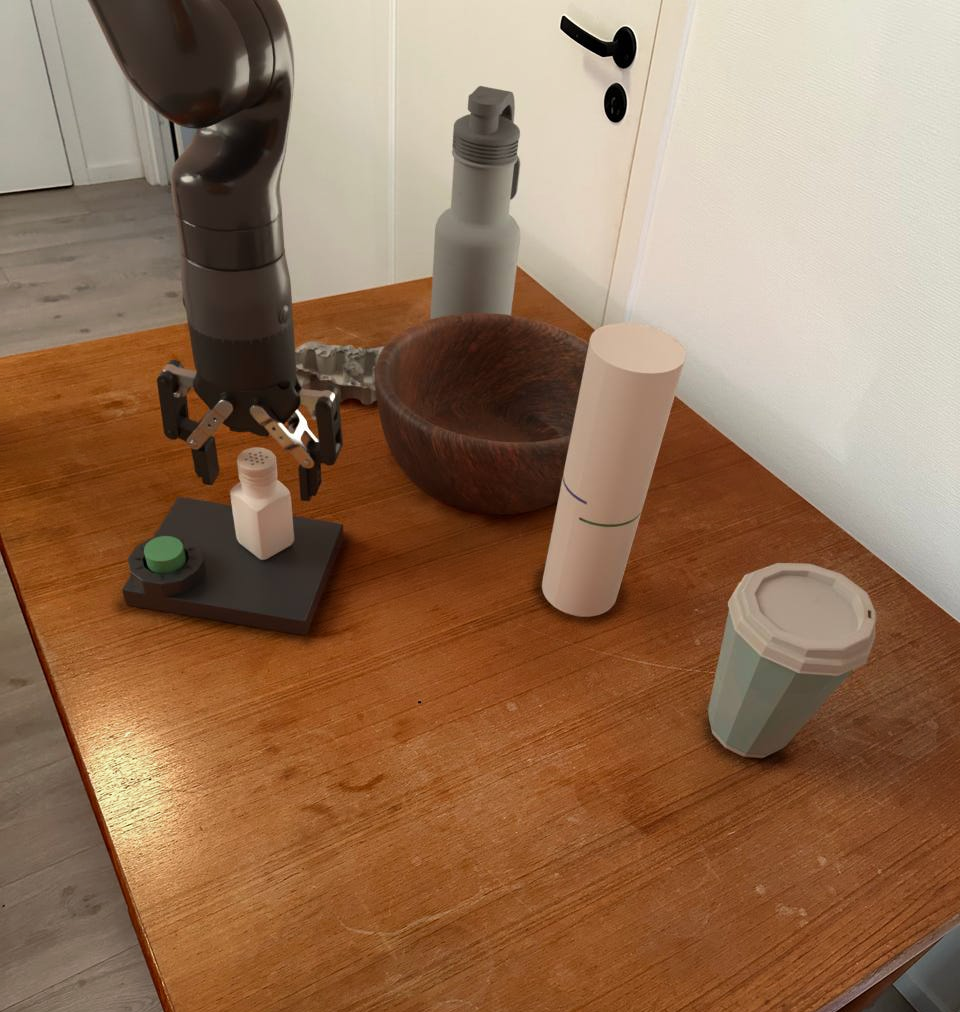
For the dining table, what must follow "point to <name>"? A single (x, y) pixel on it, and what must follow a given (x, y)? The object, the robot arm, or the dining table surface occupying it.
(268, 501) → the pepper shaker
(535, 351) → the wooden bowl
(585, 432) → the cylindrical container
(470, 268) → the water bottle
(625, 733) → the dining table surface
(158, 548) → the button
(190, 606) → the dark grey flat block
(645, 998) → the dining table surface
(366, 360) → the egg carton
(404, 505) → the dining table surface
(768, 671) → the disposable coffee cup
